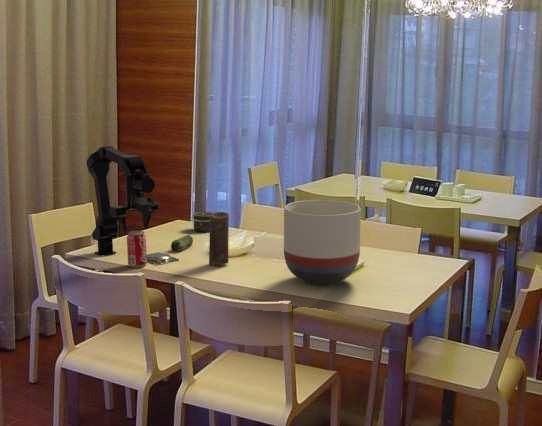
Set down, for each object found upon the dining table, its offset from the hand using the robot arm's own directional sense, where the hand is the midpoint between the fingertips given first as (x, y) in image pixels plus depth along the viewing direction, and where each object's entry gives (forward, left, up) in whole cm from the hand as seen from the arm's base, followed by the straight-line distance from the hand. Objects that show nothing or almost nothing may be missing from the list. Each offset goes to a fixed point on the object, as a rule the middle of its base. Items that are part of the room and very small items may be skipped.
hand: (135, 230), depth 311 cm
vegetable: (-9, +28, -14) cm, 32 cm away
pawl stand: (-2, +11, -14) cm, 18 cm away
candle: (+20, +24, -14) cm, 34 cm away
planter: (+61, +38, -14) cm, 73 cm away
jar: (-29, +54, -14) cm, 63 cm away
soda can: (+1, 0, -14) cm, 14 cm away
